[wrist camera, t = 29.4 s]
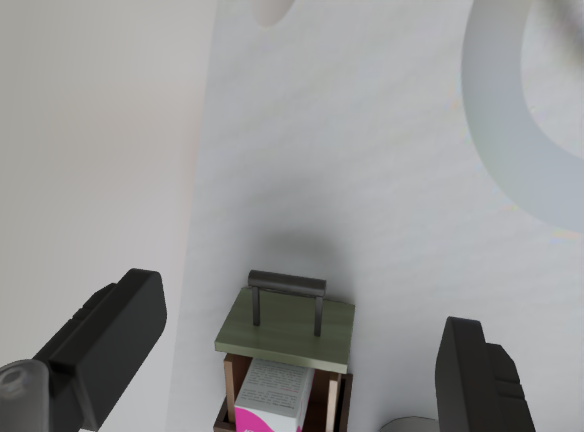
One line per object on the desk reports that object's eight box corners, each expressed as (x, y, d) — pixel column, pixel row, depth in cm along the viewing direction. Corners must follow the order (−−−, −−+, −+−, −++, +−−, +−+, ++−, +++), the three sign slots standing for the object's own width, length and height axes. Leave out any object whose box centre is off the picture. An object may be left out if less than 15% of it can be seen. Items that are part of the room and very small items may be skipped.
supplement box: (267, 315, 47) (232, 404, 37) (321, 324, 46) (300, 418, 36) (267, 354, 50) (235, 446, 40) (318, 363, 49) (298, 460, 39)
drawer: (239, 238, 44) (209, 287, 37) (361, 254, 42) (353, 309, 35) (246, 385, 55) (223, 446, 48) (344, 404, 53) (336, 470, 46)
